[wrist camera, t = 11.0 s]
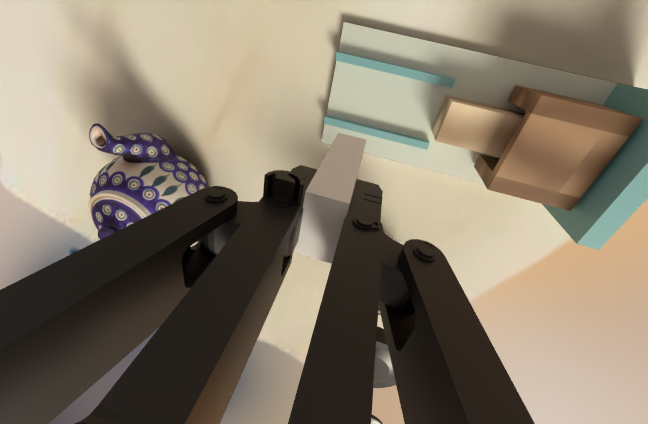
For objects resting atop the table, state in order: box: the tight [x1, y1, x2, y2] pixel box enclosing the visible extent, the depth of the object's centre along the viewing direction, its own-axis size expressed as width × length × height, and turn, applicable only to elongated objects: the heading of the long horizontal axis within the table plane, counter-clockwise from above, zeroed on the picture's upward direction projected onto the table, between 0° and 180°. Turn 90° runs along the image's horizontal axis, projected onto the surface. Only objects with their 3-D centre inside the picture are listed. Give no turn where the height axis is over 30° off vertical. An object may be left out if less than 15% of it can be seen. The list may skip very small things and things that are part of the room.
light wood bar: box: [432, 94, 525, 158], centre depth 30 cm, size 4×12×4 cm, turn 79°
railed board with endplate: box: [321, 22, 648, 250], centre depth 28 cm, size 13×29×10 cm, turn 79°
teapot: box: [88, 124, 209, 240], centre depth 40 cm, size 25×15×15 cm, turn 173°
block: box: [474, 85, 643, 211], centre depth 28 cm, size 9×8×6 cm
